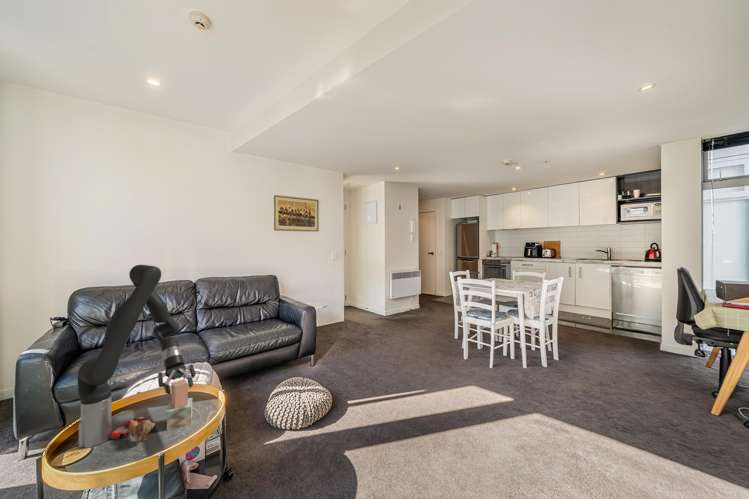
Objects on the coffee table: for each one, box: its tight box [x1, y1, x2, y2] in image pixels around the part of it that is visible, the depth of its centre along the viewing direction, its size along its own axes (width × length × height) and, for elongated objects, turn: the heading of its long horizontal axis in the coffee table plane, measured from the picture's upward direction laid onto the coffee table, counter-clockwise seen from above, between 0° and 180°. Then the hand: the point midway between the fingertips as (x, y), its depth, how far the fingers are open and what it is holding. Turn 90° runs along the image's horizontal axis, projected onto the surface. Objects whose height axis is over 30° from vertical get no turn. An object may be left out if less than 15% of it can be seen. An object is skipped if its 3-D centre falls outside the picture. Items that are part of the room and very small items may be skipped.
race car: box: [110, 416, 148, 440], centre depth 128 cm, size 13×5×4 cm, turn 159°
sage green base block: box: [166, 397, 193, 431], centre depth 135 cm, size 9×9×8 cm
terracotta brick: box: [171, 379, 189, 409], centre depth 134 cm, size 5×5×10 cm
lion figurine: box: [126, 419, 156, 446], centre depth 122 cm, size 15×5×9 cm, turn 72°
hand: (180, 390), depth 134 cm, fingers open, 8 cm apart
